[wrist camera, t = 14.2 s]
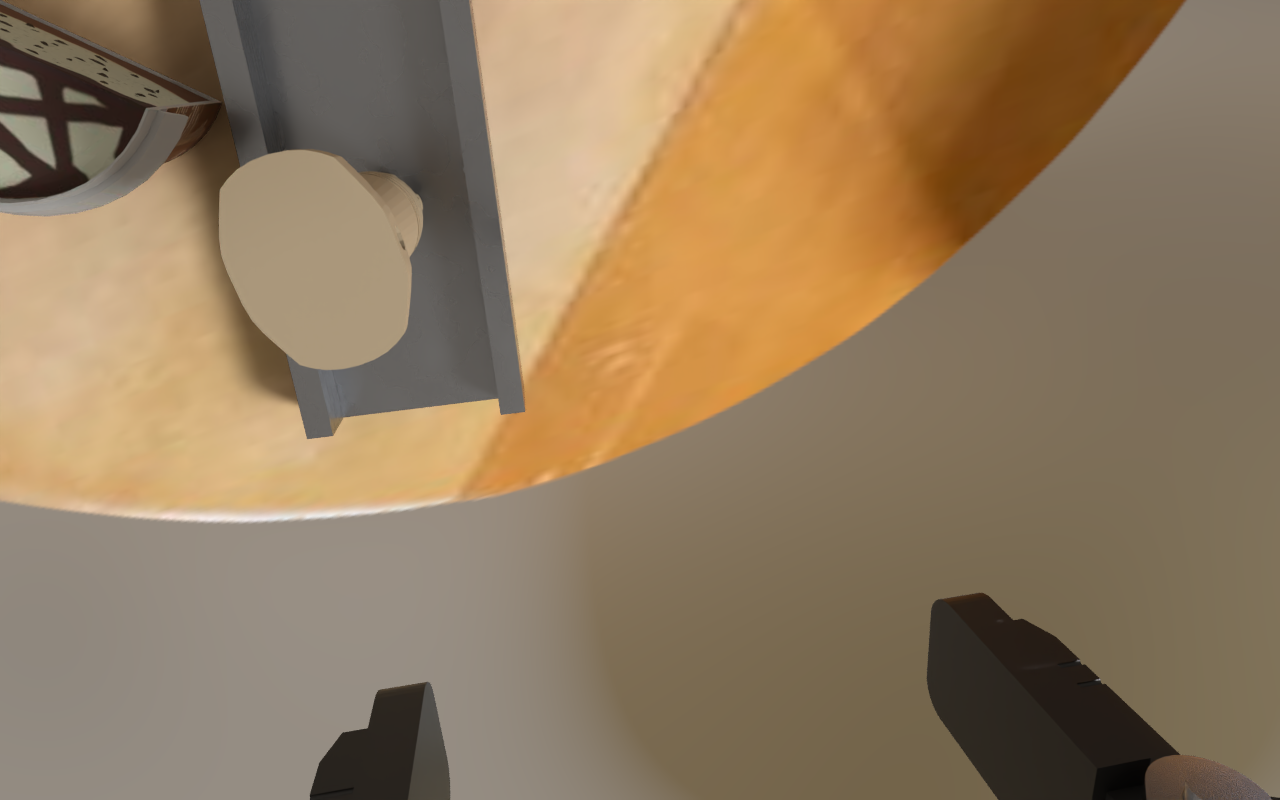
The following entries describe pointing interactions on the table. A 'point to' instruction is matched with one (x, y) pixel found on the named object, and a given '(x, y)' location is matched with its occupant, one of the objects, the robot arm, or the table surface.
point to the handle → (321, 254)
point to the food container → (83, 119)
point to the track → (396, 144)
